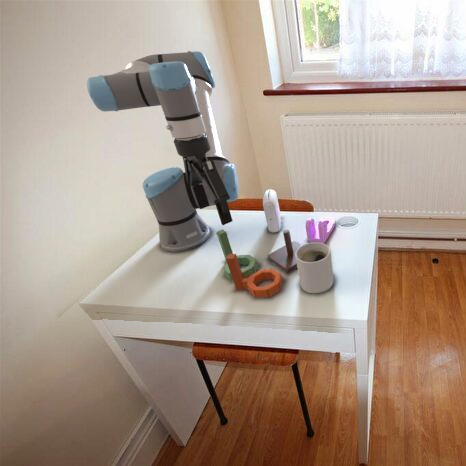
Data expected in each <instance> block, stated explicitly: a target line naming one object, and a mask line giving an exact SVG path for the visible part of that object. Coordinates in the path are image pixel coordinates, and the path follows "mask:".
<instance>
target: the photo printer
mask: <svg viewBox="0 0 466 466" xmlns="http://www.w3.org/2000/svg"><path fill="white" fill-rule="evenodd" d="M262 197H263V198H262V207H263V212H264V215H265V216H264V217H265V220H266V224H267V230H268V231H269V232H270V233H278V232H279V231H280V230H281V227H282V215H281V214H282V213H281V209H280V205H279V204H280V203H279V199H278V195H277V192H276V191H275V190H274V189H267V190H265V192H264V194H263V196H262Z"/></svg>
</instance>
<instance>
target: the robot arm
mask: <svg viewBox="0 0 466 466" xmlns="http://www.w3.org/2000/svg"><path fill="white" fill-rule="evenodd" d="M86 88H87V92H88V95H89V97H90V100H91V101H92V103H93V104H94V106H95V107H96V109H98V110H100V111H101V112H106V113H107V112H119V111H125V110H133V109H140V108H148V107H150V108H151V107H158V106H161V109H162V112H163V115H164V118H165V120H166V123H167V125H166V126H165V128H166V130H167V131H169V132H170V134H171V135H170V136H171V137H172V138H173V139H174V140H173V144H174V147H175V149H176V153H177V154H178V156H180V157H182V160H183V161H182V162H183V166H184V170H183V169H182V168H181V167H178V166H177V167H174V166H173V167H168V168H164V169H161V170H159V171H155V172H154V173H152V174H151V175H149V176H147V177H146V178H145V179H143V182H142V188H143V189H142V190H143V191H144V195H145V198H146V199H147V201H148V203H149V206H150V208H151V210H152V212H153V214H154V217H155V219H156V222H157V223H158V232H159V233H158V234H159V235H158V236H159V237H158V238H159V244H160V246H161V248H162V249H163V250H164V251H167V252H172V253H174V252H175V253H178V252H185V251H189V250H191V249H194V248H196V247H198V246H199V247H200V245H202V244H203V243H205V242H206V241H207V240H209V238H210V236H211V230H210V227H209V226H208V224H207V223H206V222H205V220H203V218H202V217H201V216H200V214H199V213H198V210H197V209H199V210H202V209H203V210H204V209H205V208H208V207H213V206H215V208H216V211H217V214H218V217H219V220H220V223H221V225H222V226H225V225H227V224H230V223H232V222H233V217H232V214H231V211H230V208H229V204H228V203H230V202H231V203H232V202H235V201H237V200H238V199H239V193H240V191H239V181H238V180H239V179H238V175H237V168H236V165H235V164H234V163H230V160H229V159H228V158H227V157H226V156H224V155H223V154H224V153H223V150H222V146H221V141H220V138H219V134H218V133H219V132H218V130H217V125H216V121H215V118H214V113H213V109H212V105H211V100H210V97H211V96H212V93H213V89H214V88H216V82H215V79H214V76H213V74H212V71H211V68H210V66H209V63H208V60H207V58H206V56H205V54H204V53H203V52H201V51H195V50H194V51H191V50H188V51H186V52H171V53H170V52H169V53H159V54H158V53H155V54H150V55H146V56H144V57H143V56H142V57H141V58H138V59H136V60H134V61H131V62H129V63H128V64H127V65H126V66H125V69H123V70H120V71H118V72H116V73H113V74H107V75H102V74H101V75H97V76H90V77H88V79H87V80H86Z"/></svg>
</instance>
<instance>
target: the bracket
mask: <svg viewBox="0 0 466 466" xmlns="http://www.w3.org/2000/svg"><path fill="white" fill-rule="evenodd" d="M335 227H336V222H335V219H334V218H333V217H324V218H321V219H319V220H318V222H317V223H316V224H315V219H314V218H307V219H306V221H305V232H306V238H307V242H310V243H312V242H319V243H323V244H325V243H326V240H328V238H329V236H330V235H331V233H332V232H333V230H334V228H335Z"/></svg>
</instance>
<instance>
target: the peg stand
mask: <svg viewBox="0 0 466 466" xmlns="http://www.w3.org/2000/svg"><path fill="white" fill-rule="evenodd" d="M282 234H283V239H284V246H281V247H280V248H278V249H276V250H274V251H273V252H271V253H269V254H267V255H266V257H267V260H268V261H270V262H271V263H272V264H274V265H275V266H276V267H278V268H279V269H281V271H283V272H285V273H286V274H289V273H291V272H292V271H294V270H296V269H298V268H297V263H296V257H295V253H296V251H297V249H298V248H299V247H301V246H302V245H303V244H300V243H299V242H297V241H295V240H293V241H292V238H291V232H290V230H289V229H284V230H283V231H282Z"/></svg>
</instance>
